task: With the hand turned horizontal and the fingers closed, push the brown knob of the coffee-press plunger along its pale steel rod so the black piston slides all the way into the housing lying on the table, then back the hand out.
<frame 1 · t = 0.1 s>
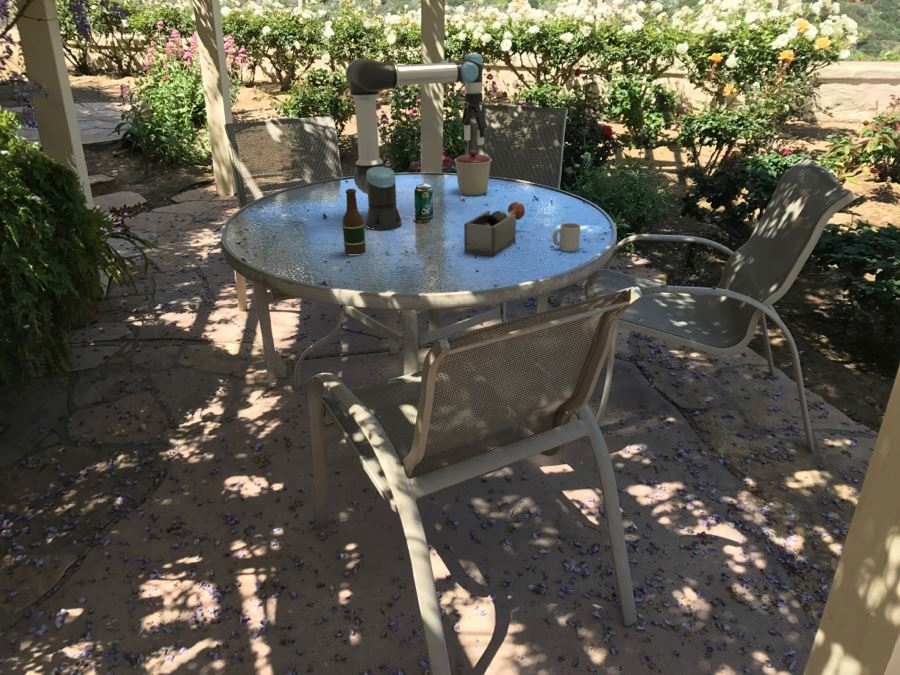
hand: (473, 142, 313), 28 cm above the table, tool pointing down, fingers open, 13 cm apart
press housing: (501, 239, 275), on the table
plunger: (507, 216, 277), point 8 cm above the table, slide at 0.2 cm
cup: (565, 249, 264), on the table
canister: (473, 194, 344), on the table
beer bottle: (355, 253, 263), on the table
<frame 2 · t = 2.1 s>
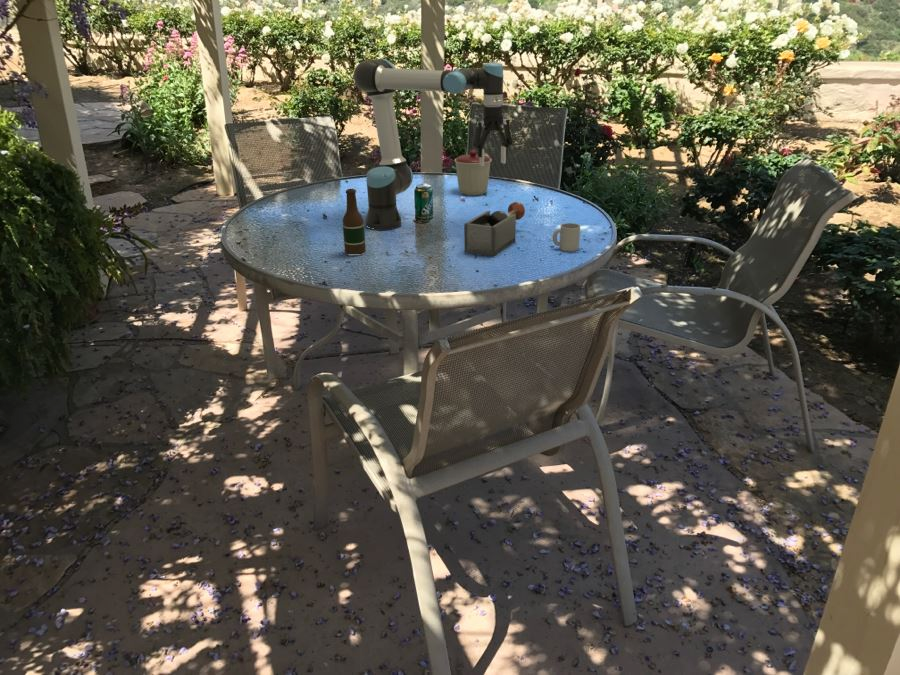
hand: (492, 164, 282), 25 cm above the table, tool pointing down, fingers open, 9 cm apart
nothing on the table moved.
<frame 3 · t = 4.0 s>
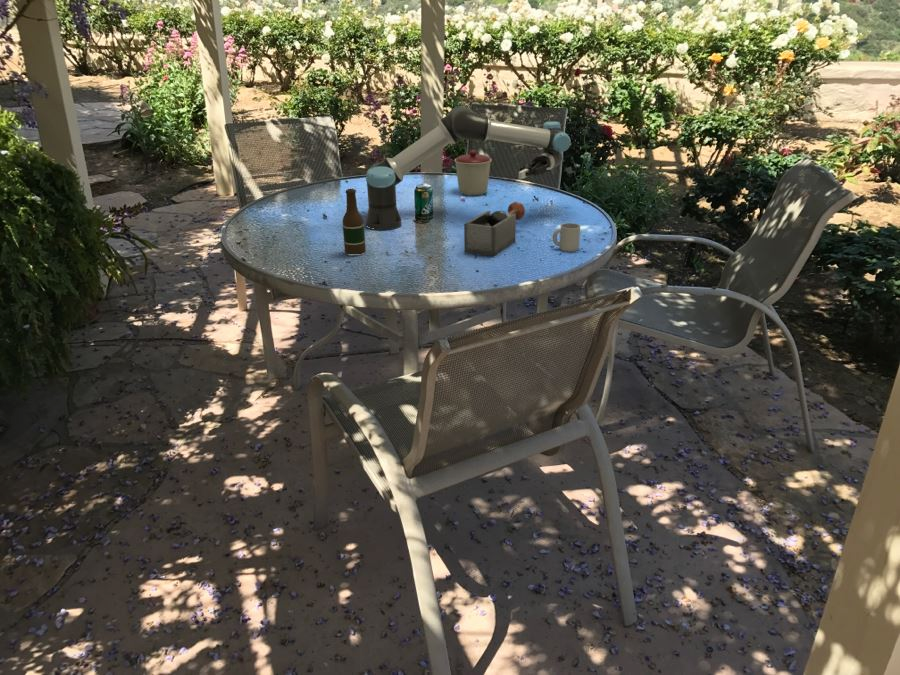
hand: (520, 175, 281), 21 cm above the table, tool horizontal, fingers closed
nothing on the table moved.
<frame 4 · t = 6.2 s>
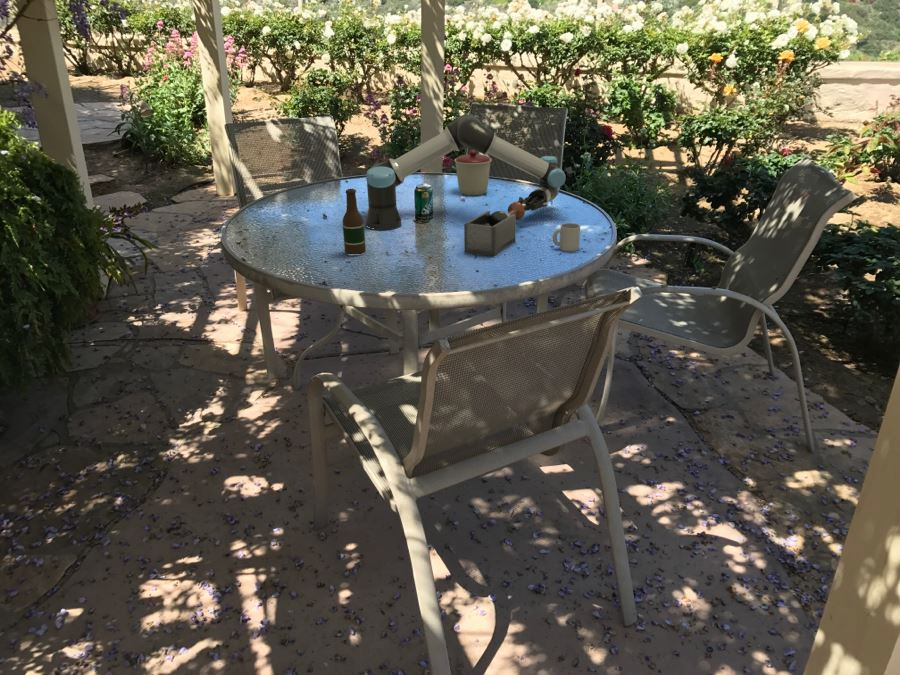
hand: (518, 210, 284), 8 cm above the table, tool horizontal, fingers closed
plunger: (507, 216, 276), point 8 cm above the table, slide at 0.3 cm, touching gripper
everything else where it was.
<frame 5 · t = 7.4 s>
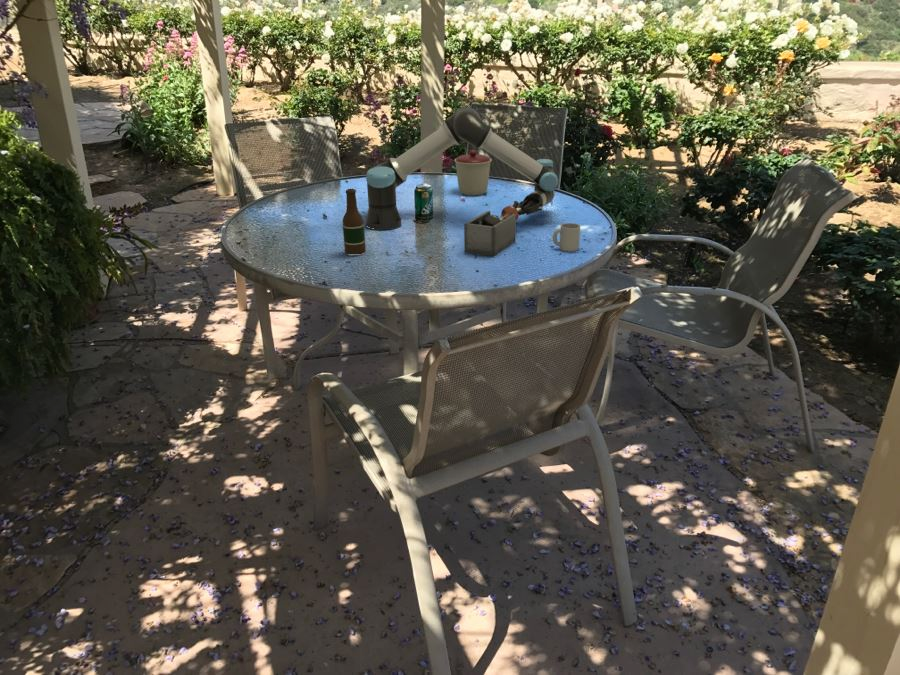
hand: (513, 215, 278), 8 cm above the table, tool horizontal, fingers closed
plunger: (501, 220, 271), point 8 cm above the table, slide at 6.8 cm, touching gripper
everything else where it was.
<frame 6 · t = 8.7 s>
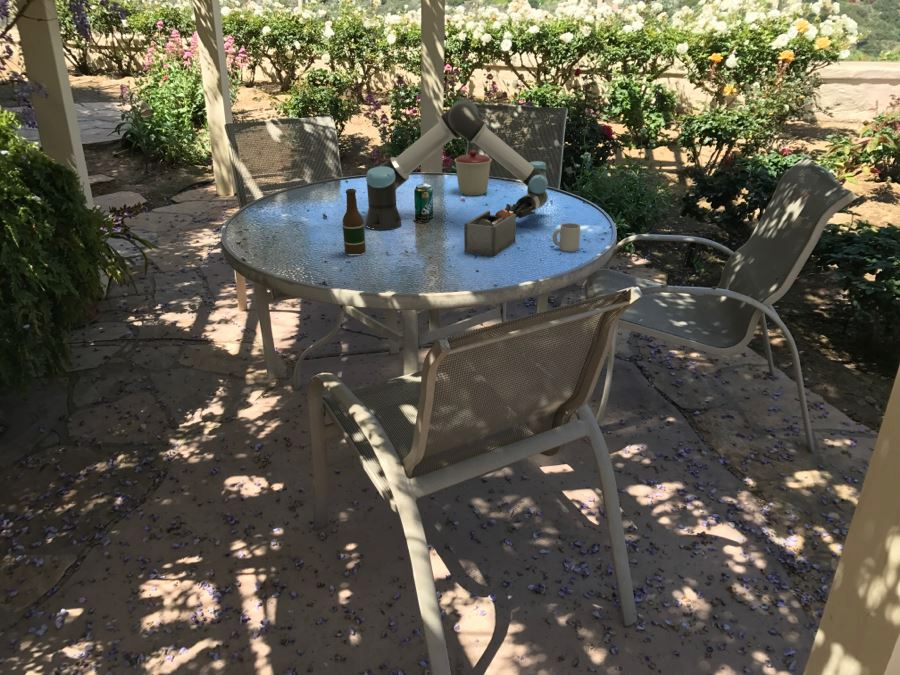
hand: (505, 218, 274), 8 cm above the table, tool horizontal, fingers closed
plunger: (494, 224, 266), point 8 cm above the table, slide at 13.1 cm, touching gripper
everything else where it was.
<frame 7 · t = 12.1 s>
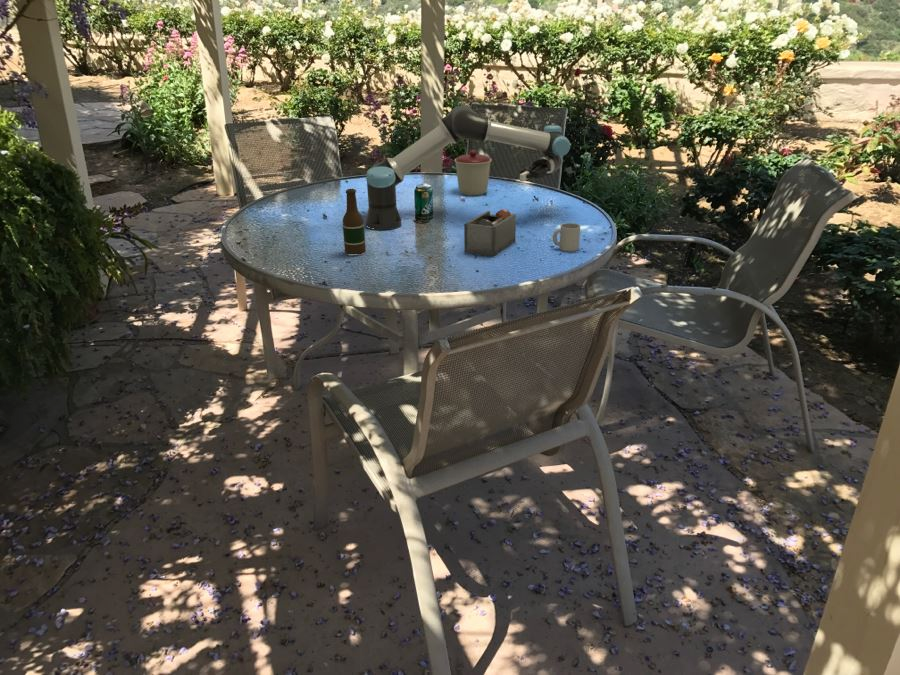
hand: (521, 178, 279), 21 cm above the table, tool horizontal, fingers closed
plunger: (494, 224, 266), point 8 cm above the table, slide at 13.0 cm
everything else where it was.
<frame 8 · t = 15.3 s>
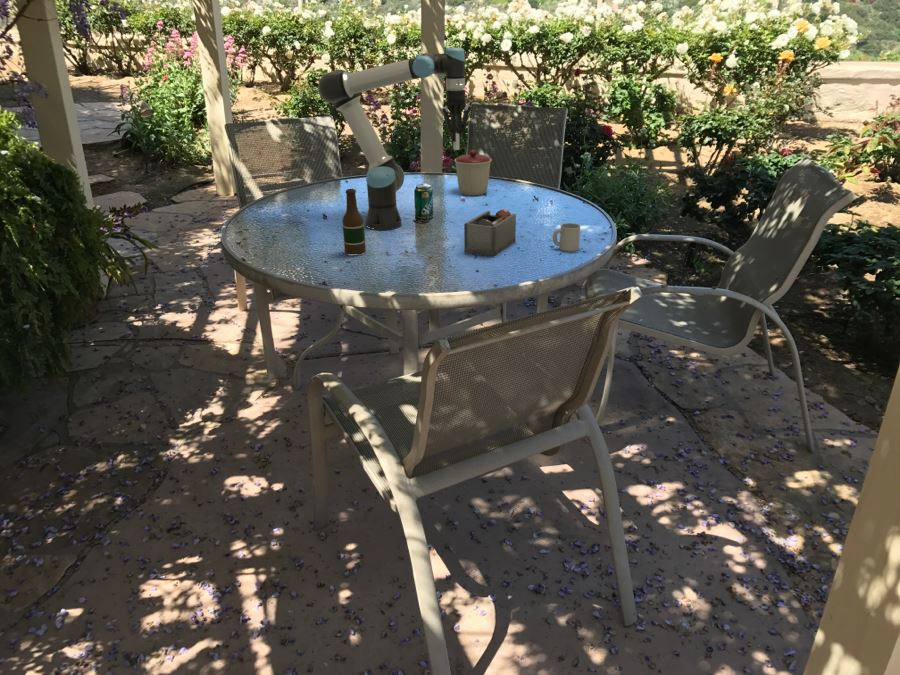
hand: (456, 149, 291), 29 cm above the table, tool pointing down, fingers closed
nothing on the table moved.
at the end: plunger slide at 13.0 cm; plunger touching nothing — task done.
